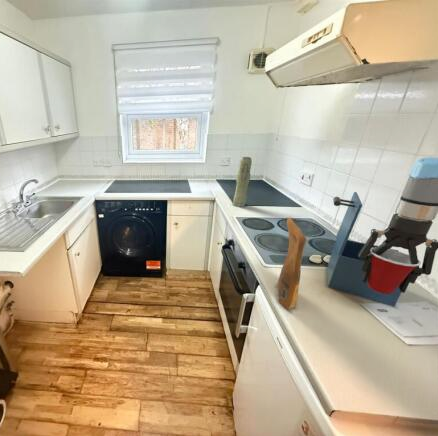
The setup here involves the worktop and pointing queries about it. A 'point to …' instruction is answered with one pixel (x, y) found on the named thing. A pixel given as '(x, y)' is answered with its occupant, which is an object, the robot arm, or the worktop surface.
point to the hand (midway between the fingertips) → (382, 284)
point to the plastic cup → (389, 270)
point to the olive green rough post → (242, 182)
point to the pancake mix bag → (291, 267)
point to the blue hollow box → (354, 274)
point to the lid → (347, 219)
